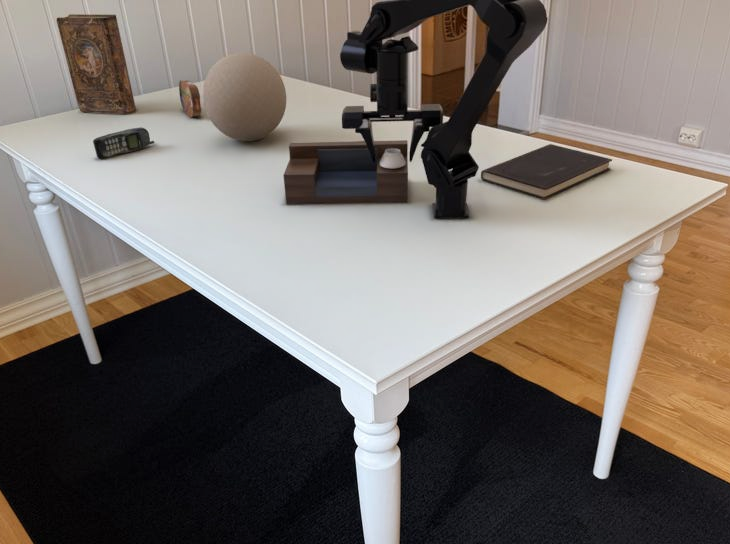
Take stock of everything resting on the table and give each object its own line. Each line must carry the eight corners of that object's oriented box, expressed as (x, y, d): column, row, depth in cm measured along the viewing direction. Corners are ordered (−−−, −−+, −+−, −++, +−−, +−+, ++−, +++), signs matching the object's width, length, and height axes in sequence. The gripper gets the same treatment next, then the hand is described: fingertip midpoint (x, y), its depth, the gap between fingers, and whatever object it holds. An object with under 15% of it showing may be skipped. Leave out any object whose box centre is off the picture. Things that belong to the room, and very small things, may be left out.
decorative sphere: (196, 150, 165) (181, 62, 154) (228, 126, 181) (216, 45, 170) (274, 153, 161) (265, 63, 150) (299, 128, 177) (293, 45, 165)
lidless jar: (410, 164, 133) (390, 160, 136) (410, 149, 132) (390, 145, 134) (395, 172, 130) (374, 167, 133) (395, 156, 129) (374, 152, 131)
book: (139, 109, 199) (119, 14, 184) (128, 114, 194) (107, 17, 180) (90, 107, 203) (67, 14, 189) (79, 112, 199) (55, 17, 184)
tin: (181, 108, 198) (175, 77, 193) (191, 106, 199) (186, 76, 194) (193, 120, 187) (188, 88, 182) (205, 119, 188) (200, 87, 183)
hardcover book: (610, 169, 144) (612, 159, 142) (544, 200, 132) (546, 188, 130) (546, 153, 154) (547, 143, 152) (480, 180, 142) (481, 169, 140)
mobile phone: (94, 140, 159) (153, 125, 166) (89, 137, 161) (148, 122, 168) (100, 161, 162) (158, 145, 169) (95, 158, 164) (152, 142, 171)
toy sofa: (407, 202, 133) (408, 159, 128) (286, 204, 135) (282, 162, 130) (407, 180, 143) (407, 140, 138) (293, 182, 145) (290, 142, 140)
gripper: (441, 65, 130) (438, 147, 139) (343, 68, 131) (347, 149, 140) (444, 79, 121) (441, 166, 130) (339, 82, 122) (343, 167, 131)
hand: (392, 161), depth 133 cm, fingers open, 7 cm apart
